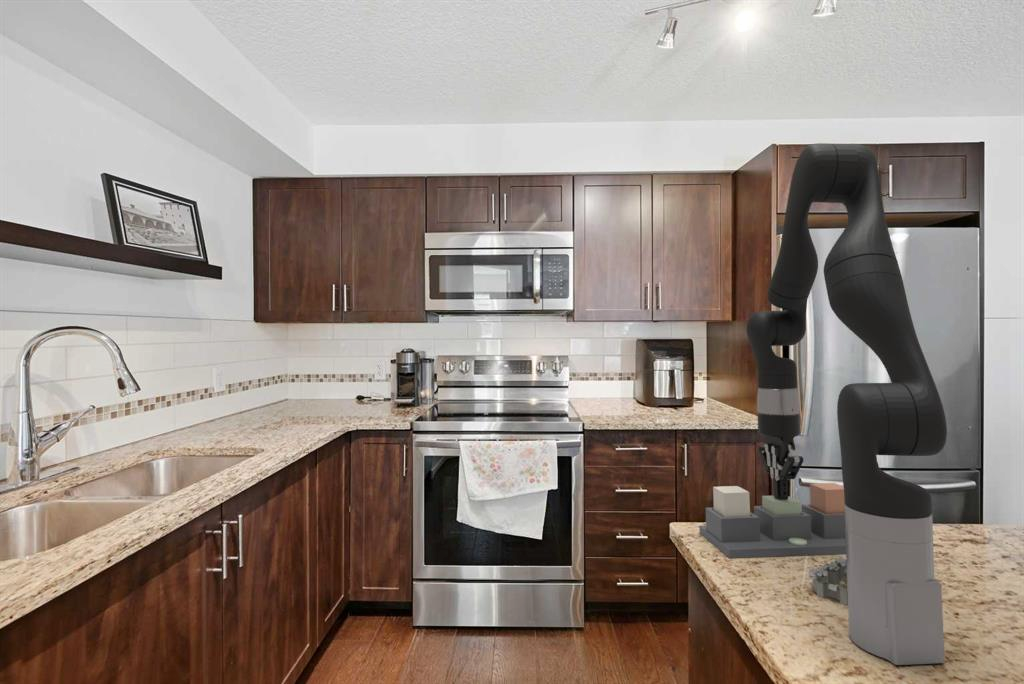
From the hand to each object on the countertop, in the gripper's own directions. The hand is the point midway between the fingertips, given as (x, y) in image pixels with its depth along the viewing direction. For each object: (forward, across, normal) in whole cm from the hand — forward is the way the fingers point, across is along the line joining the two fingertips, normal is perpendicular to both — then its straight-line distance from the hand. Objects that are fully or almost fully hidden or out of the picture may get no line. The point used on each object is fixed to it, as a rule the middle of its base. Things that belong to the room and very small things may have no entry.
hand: (780, 498), depth 106 cm
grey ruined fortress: (+9, -22, +2) cm, 24 cm away
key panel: (+8, -1, 0) cm, 8 cm away
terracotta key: (+4, 0, -10) cm, 11 cm away
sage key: (+6, 0, 0) cm, 6 cm away
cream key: (+4, 0, +10) cm, 11 cm away
